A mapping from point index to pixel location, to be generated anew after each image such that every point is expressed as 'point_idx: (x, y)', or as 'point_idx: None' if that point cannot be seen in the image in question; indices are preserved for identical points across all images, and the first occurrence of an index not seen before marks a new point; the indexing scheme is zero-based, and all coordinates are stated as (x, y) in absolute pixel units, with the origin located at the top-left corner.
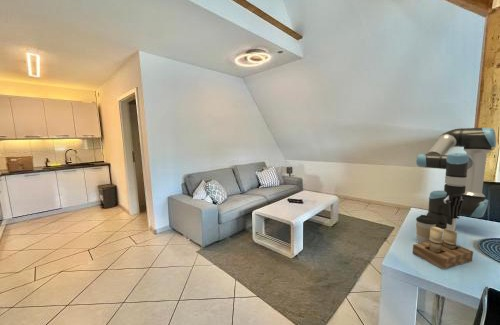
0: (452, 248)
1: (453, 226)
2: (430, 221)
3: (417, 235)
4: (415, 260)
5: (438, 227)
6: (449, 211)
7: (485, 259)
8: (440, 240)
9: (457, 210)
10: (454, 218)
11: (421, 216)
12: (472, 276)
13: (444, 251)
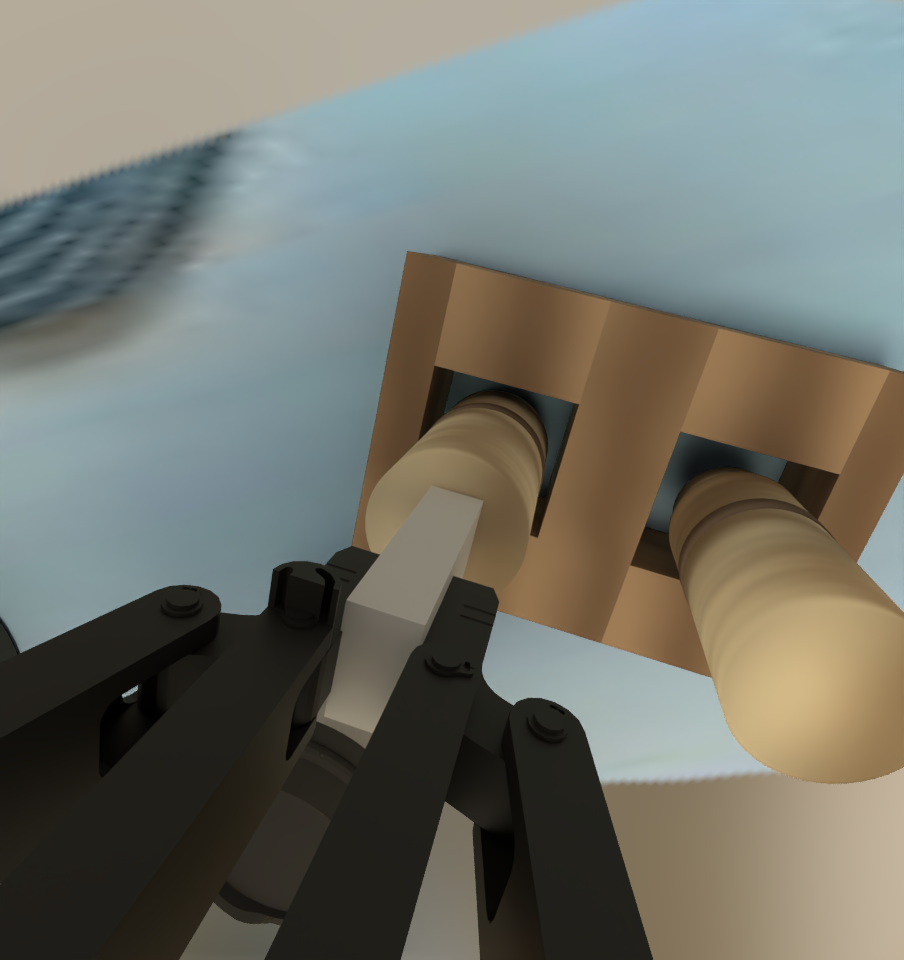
0: (527, 413)
1: (455, 536)
2: (335, 791)
3: None
4: (895, 580)
5: (1, 637)
6: (625, 951)
7: (288, 193)
8: (823, 535)
9: (163, 759)
10: (362, 625)
11: (262, 900)
12: (801, 143)
13: (673, 446)
